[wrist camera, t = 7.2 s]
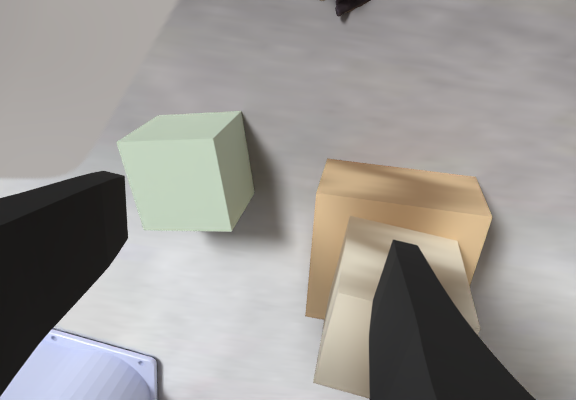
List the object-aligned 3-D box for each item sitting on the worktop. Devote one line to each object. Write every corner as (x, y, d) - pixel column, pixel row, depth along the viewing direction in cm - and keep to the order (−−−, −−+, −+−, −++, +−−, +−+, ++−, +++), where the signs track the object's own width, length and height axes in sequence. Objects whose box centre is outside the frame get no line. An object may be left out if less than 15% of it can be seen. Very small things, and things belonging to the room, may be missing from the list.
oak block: (317, 267, 25) (305, 316, 21) (328, 156, 21) (316, 192, 18) (441, 288, 23) (450, 342, 20) (474, 174, 20) (492, 217, 17)
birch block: (328, 294, 20) (313, 382, 16) (349, 215, 18) (338, 292, 14) (423, 319, 20) (433, 416, 15) (457, 240, 17) (480, 328, 13)
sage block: (179, 192, 24) (143, 230, 20) (159, 114, 22) (116, 141, 18) (255, 192, 23) (231, 231, 19) (241, 110, 21) (212, 138, 17)
